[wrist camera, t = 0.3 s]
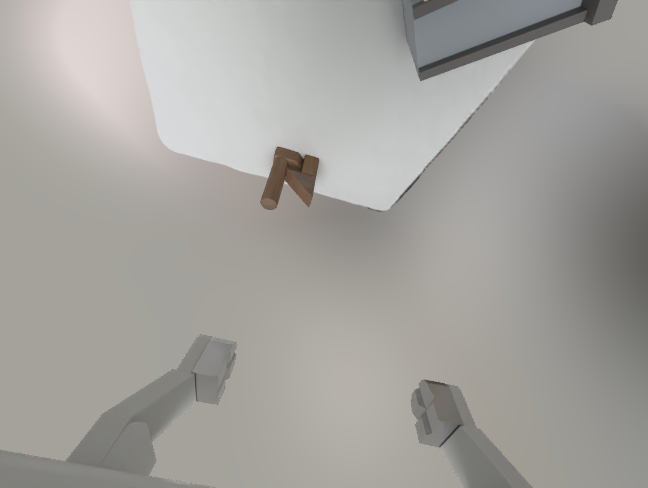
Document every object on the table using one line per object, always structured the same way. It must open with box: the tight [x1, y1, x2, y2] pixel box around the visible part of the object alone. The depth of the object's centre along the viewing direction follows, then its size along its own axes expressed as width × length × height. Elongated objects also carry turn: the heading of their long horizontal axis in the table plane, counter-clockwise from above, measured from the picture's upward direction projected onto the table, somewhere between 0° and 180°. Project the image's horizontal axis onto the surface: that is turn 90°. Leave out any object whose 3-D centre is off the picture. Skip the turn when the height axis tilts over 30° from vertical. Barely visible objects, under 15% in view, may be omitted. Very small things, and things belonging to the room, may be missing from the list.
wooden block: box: [260, 147, 319, 210], centre depth 59 cm, size 4×11×18 cm, turn 75°
